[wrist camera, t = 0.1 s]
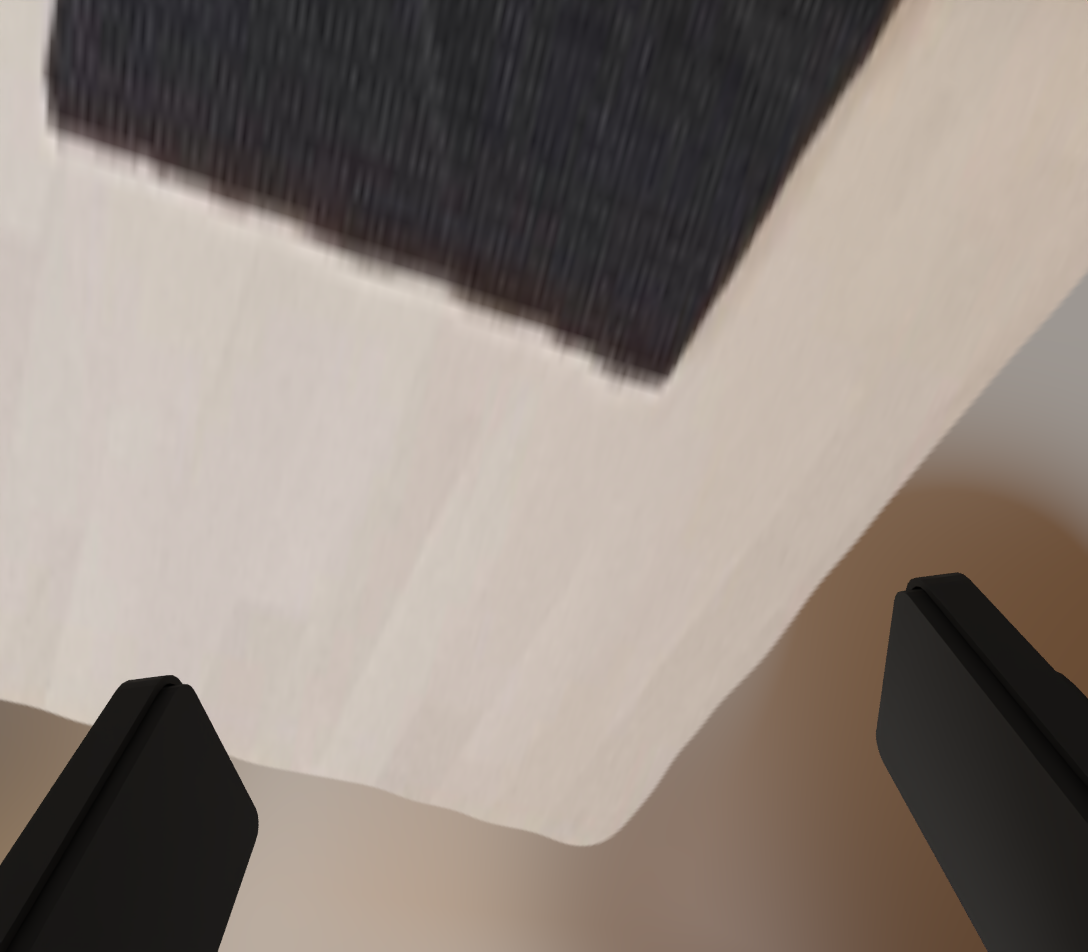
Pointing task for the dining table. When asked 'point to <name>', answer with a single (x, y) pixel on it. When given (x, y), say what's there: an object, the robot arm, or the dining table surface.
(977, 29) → the dining table surface
